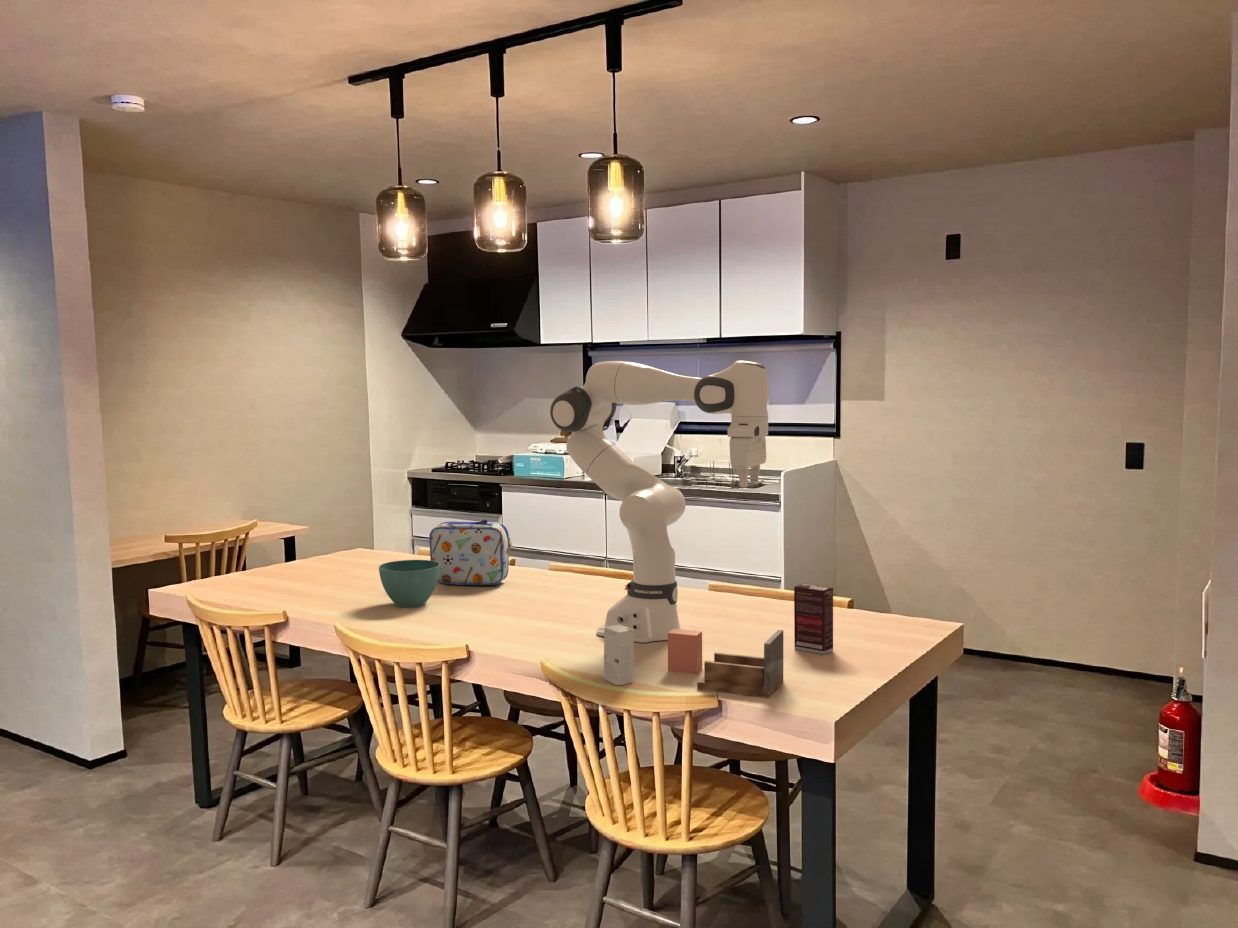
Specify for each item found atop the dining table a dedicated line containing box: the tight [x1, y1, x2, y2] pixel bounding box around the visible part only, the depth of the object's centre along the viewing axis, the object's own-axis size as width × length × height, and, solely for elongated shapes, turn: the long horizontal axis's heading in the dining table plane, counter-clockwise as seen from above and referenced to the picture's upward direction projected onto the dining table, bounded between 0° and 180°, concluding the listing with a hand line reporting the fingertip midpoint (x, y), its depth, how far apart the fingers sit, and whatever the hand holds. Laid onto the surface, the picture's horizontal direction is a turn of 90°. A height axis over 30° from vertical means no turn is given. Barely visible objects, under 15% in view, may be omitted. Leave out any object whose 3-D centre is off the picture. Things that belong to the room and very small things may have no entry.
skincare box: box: [603, 624, 635, 686], centre depth 212 cm, size 6×4×12 cm
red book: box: [667, 628, 703, 675], centre depth 219 cm, size 7×4×9 cm, turn 67°
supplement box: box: [793, 583, 834, 655], centre depth 234 cm, size 9×5×16 cm, turn 50°
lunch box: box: [428, 519, 514, 586], centre depth 318 cm, size 28×10×22 cm, turn 82°
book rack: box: [696, 629, 784, 699], centre depth 208 cm, size 16×12×12 cm
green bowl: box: [378, 559, 440, 609], centre depth 289 cm, size 18×18×12 cm
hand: (749, 485), depth 231 cm, fingers open, 8 cm apart
